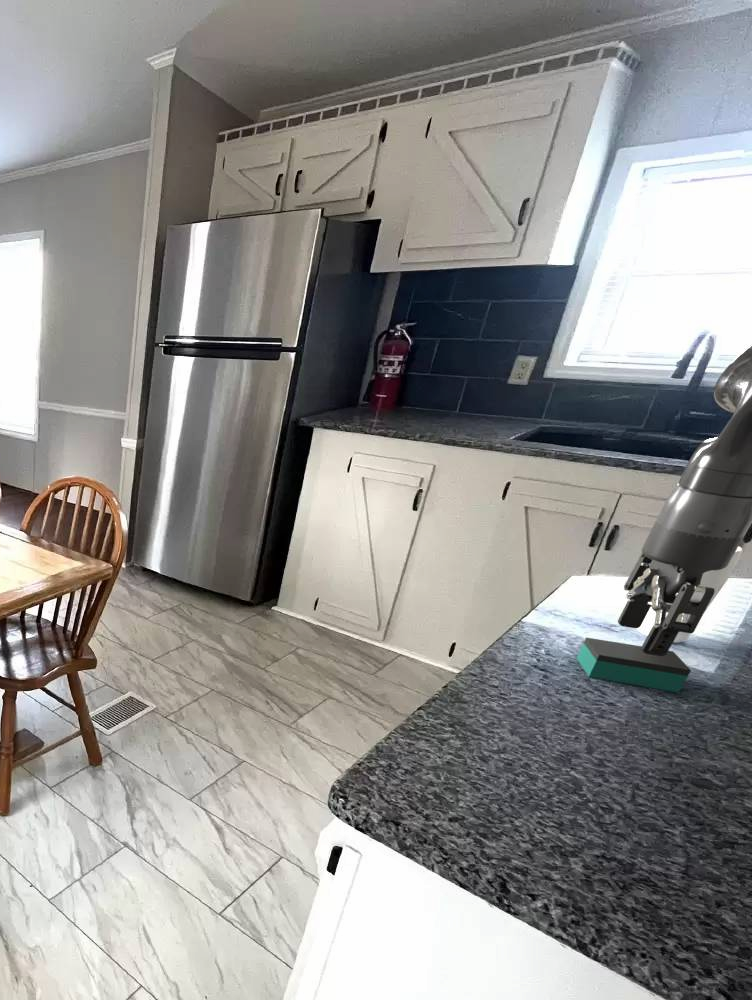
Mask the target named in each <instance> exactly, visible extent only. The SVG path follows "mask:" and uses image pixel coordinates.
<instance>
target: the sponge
mask: <svg viewBox="0 0 752 1000" xmlns="http://www.w3.org/2000/svg"><path fill="white" fill-rule="evenodd" d="M641 647H642V645H636V644H631V643H623V642H617V641H612V640H606V639H600V638H592V637H586V638H585V639H584V641H583V644H582V646H581V648H580V650H579V652H578V654H577V657H576V660H577V661H578V663H579V664H580V666H581V667H582V669H583V671H584V672H585V673H586V675H587V676H588V677H589V678H593V679H594V678H595V679H599V680H600V679H601V680H605V681H612V682H617V683H622V684H627V685H632V686H633V685H634V686H639V687H643V688H650V689H651V688H652V689H656V690H661V691H666V692H672V693H680V691H681V689H682V688H683V686H684V684H685V683H686V680H687V679H688V676H690V673H691V672H692V670H691V668H689V666H688V665H687V664H686V663H685V662H684V661H683V660H682V659H681V658H680V657H679V656H678V655H677V654H676V653H675V652H674V651H673V650H668V652H667V654H666V655H664V656H657V655H651V654H646V653H644V652H643V651H642V650H641Z"/></svg>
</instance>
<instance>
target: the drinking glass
mask: <svg viewBox="0 0 752 1000" xmlns="http://www.w3.org/2000/svg"><path fill="white" fill-rule="evenodd" d="M743 551H744V549H743V548H742V547H741V546H740V545H739V546H738V548H737V550H736V551H735V553H734V555H733V557H732V558H731V560H730V562H729V564H728V565H727V567H725V568H723V569H721V570H711V571H707V572H705V573H704V574H703V576H702V579H701V583H700V586H702V587H709V588H714V590H715V591H714V595H713V596H712V598H711V600H710V602H709V604H708V606H707V608H706V610H705V612H707V610H708V608H709V607H710V606H711V604H712V603H713V601H714V600H715V598H716V597H717V596H718V594H719V593H720V591H721V590H722V589H723V587H724V585H725V584H726V583H727V582H728V579H729V578H730V577H731V575H732V573H733V572H734V570H735V569H736V567H737V565H738V562H739V560H740V558H741V556H742V553H743ZM648 603H650V604H651V605H652V602H648ZM666 604H667V603H666ZM671 605H672V604H671ZM667 614H668V612H666V616H667ZM655 615H656V612H655V611H654V610H652V608H650V609H649V611H648V613H647V615H646V617H645V619H644V621H643V623H642V625H641V626H640V627H639V628H637V630H638V632H639V633H641V634H642V635H643V636H645V637H647V636H648V634H649V632H650V630H651V628H652V627H653V626H654V622H655ZM689 617H690V614H688V617H687V621H688V619H689ZM691 634H692V633H684V632H679V633H678V634H677V636H676V638H675V640H674V641H673V643H672V644H675V643H676V644H678V643H683V642H687V640H688V639H689V638H690V636H691Z"/></svg>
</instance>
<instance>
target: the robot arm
mask: <svg viewBox="0 0 752 1000" xmlns="http://www.w3.org/2000/svg"><path fill="white" fill-rule="evenodd" d="M713 388H714V389H713V397H714V400H715V403H716V404H717V405H718V406H719V407H721V408H722V409H724V411H727V412H729V413H733V415H731V417H730V419H729V421H728V422H727V423H726V425H725V426H724V427H723V429H722V431H721V432H720V433H719V435H718V436H717V437H714V438H709V439H706V440H704V441H702V442H701V443H700V444H699V445H698V446H697V447H696V448H695V450H694V451H693V453H692V455H691V456H690V458H689V460H688V462H687V464H686V465H685V468H684V470H683V471H682V474H681V476H680V477H679V480H678V482H677V484H676V485H675V487H674V489H673V490H672V492H671V493H670V495H668V497H667V499H666V500H665V502H664V503H663V506H662V508H661V510H660V511H659V513H658V516H657V518H656V520H655V521H654V523H653V526H652V527H651V529H650V532H649V534H648V535H647V538H646V539H645V542H644V544H643V546H642V548H641V553H640V556H639V558H637V561H636V563H635V565H634V567H633V569H632V570H631V572H630V574H629V576H628V578H627V580H626V582H625V583H624V585H623V589H624V590H623V591H628V592H627V594H626V599H627V602H626V604H625V605H624V608H623V610H622V611H621V613H620V615H619V617H618V619H617V624H618V625H619V626H621V627H623V628H624V627H625V628H630V629H638V628H639V627H640V626H641V625H642V623H643V621H644V619H645V617H646V615H647V613H648V611H649V609H650V608H652V610H654V611H655V612H656V615H655V622H654V626H653V627H652V628H651V630H650V632H649V634H648V636H646V638H645V640H644V642H643V644H642V645H641V646H642V647H641V650H642V651H643V652H644V653H646V654H651V655H657V656H664V655H666V654H667V652H668V651H670V649H671V647H672V645H673V644H674V643H673V641H674V640H675V638H676V636H677V634H678V633H679V632H684V633H691V634H694V632H695V631H696V629H697V628H698V625H699V623H700V622H701V620H702V617H703V616H704V614H705V613H706V611H707V610H706V608H707V606H708V604H709V602H710V600H711V598H712V596H713V595H714V591H715V590H714V588H709V587H702V586H700V583H701V579H702V576H703V574H704V573H705V572H707V571H711V570H721V569H723V568H725V567H727V565H728V564H729V562H730V560H731V558H732V557H733V555H734V553H735V551H736V550H737V548H738V546H739V547H740V545H741V543H742V541H743V539H744V537H745V536H746V534H747V532H748V531H749V528H750V527H751V525H752V345H750V346H749V347H747V348H746V349H745V350H744V351H743V352H741V353H740V354H739V355H738V356H737V357H736V358H735V359H734V360H732V361H731V362H730V363H729V365H728V366H726V368H725V369H724V370H723V371H722V372H721V374H720V375H719V377H718V379H717V380H716V382H715V385H714V387H713ZM648 602H652V605H651V604H650V603H648ZM666 603H667V604H666ZM671 604H672V605H671ZM707 609H708V608H707ZM705 610H706V611H705ZM666 612H668V614H667V616H666ZM688 614H690V617H689V619H688V621H687V617H688Z"/></svg>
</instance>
